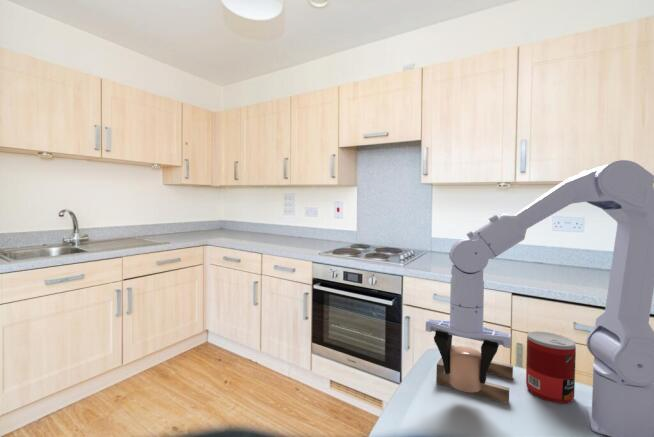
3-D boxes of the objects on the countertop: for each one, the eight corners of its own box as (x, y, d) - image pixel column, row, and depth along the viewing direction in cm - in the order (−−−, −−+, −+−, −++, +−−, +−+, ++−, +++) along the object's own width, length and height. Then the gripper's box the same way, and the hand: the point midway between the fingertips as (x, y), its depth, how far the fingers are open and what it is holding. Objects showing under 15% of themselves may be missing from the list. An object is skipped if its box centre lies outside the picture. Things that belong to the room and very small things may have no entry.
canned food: (574, 409, 59) (576, 349, 59) (523, 394, 64) (525, 338, 64) (574, 391, 65) (575, 337, 65) (527, 379, 70) (529, 328, 70)
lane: (512, 377, 71) (513, 358, 71) (508, 404, 60) (509, 382, 60) (449, 361, 78) (450, 344, 78) (436, 383, 68) (436, 363, 68)
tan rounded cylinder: (483, 382, 61) (483, 350, 61) (478, 395, 57) (479, 361, 57) (452, 374, 64) (453, 344, 64) (446, 386, 60) (446, 353, 60)
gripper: (512, 305, 60) (511, 378, 60) (432, 294, 68) (431, 358, 68) (510, 314, 54) (508, 396, 54) (422, 301, 62) (421, 372, 62)
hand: (465, 376), depth 61 cm, fingers closed on tan rounded cylinder, 5 cm apart
